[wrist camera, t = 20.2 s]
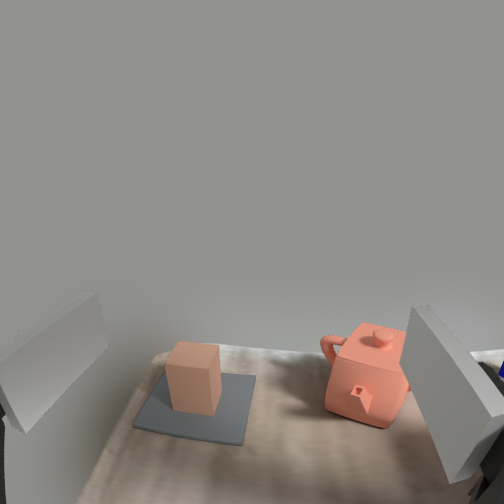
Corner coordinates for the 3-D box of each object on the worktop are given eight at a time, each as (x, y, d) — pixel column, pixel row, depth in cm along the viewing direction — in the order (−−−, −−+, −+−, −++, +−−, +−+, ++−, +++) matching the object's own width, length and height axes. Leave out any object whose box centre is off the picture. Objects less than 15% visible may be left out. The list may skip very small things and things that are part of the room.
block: (221, 390, 53) (218, 345, 50) (213, 416, 46) (208, 369, 44) (185, 386, 54) (178, 341, 51) (173, 410, 47) (164, 363, 44)
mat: (255, 377, 58) (255, 375, 58) (242, 445, 40) (241, 443, 40) (168, 368, 60) (167, 366, 60) (132, 426, 43) (132, 424, 42)
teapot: (331, 363, 62) (339, 303, 58) (430, 389, 49) (449, 327, 46) (281, 419, 46) (285, 351, 43) (406, 462, 34) (437, 394, 30)
